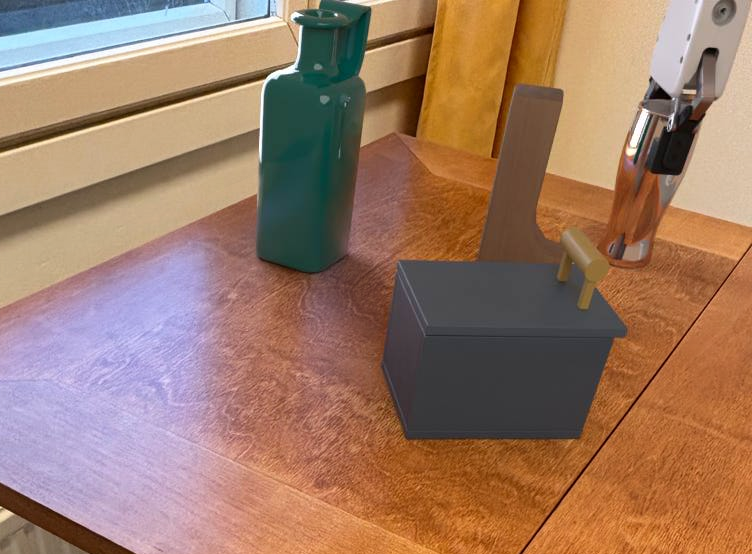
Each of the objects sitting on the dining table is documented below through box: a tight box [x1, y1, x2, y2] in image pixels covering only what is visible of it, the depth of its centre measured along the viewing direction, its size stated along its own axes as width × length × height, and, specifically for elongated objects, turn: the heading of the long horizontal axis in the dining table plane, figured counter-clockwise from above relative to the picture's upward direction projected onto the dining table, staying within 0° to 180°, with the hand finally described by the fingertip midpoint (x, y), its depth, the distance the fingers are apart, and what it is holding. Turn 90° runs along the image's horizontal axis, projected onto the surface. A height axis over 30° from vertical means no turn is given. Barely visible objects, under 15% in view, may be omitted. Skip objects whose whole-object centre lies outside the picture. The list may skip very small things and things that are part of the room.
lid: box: [396, 226, 629, 339], centre depth 68 cm, size 15×12×5 cm
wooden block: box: [475, 83, 565, 264], centre depth 86 cm, size 9×4×18 cm, turn 75°
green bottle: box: [254, 0, 373, 274], centre depth 89 cm, size 10×8×22 cm
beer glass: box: [596, 99, 704, 269], centre depth 95 cm, size 7×7×15 cm
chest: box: [380, 270, 615, 440], centre depth 73 cm, size 15×12×9 cm
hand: (654, 159), depth 93 cm, fingers closed on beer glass, 7 cm apart
